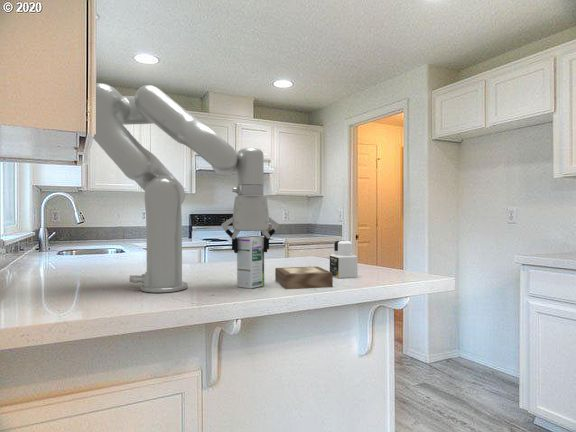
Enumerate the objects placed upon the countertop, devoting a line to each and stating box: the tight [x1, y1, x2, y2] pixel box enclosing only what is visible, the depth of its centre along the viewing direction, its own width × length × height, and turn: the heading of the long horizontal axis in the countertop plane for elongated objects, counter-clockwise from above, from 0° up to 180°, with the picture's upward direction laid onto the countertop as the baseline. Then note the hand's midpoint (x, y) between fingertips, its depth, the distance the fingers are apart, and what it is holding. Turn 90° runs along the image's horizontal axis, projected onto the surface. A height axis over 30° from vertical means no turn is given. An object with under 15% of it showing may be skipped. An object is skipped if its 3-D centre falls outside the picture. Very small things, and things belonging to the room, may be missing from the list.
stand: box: [274, 266, 334, 290], centre depth 118 cm, size 14×14×4 cm
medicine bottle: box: [329, 240, 358, 279], centre depth 131 cm, size 7×7×12 cm
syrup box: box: [236, 235, 265, 290], centre depth 113 cm, size 6×6×14 cm
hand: (250, 252), depth 113 cm, fingers closed on syrup box, 8 cm apart
